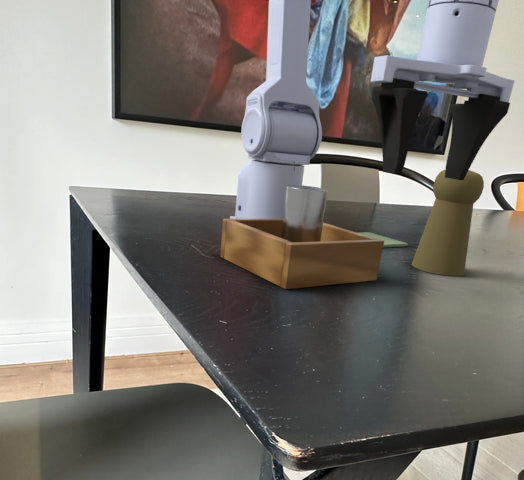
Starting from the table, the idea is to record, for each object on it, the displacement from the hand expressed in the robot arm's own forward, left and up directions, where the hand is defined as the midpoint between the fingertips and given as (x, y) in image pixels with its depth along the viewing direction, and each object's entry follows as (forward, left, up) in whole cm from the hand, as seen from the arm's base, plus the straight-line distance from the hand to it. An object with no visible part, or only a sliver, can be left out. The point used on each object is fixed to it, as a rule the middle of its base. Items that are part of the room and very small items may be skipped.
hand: (423, 176), depth 48 cm
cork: (-2, +8, -10) cm, 13 cm away
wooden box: (-6, -10, -10) cm, 15 cm away
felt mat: (-16, +11, -10) cm, 22 cm away
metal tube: (-6, -10, -10) cm, 15 cm away
